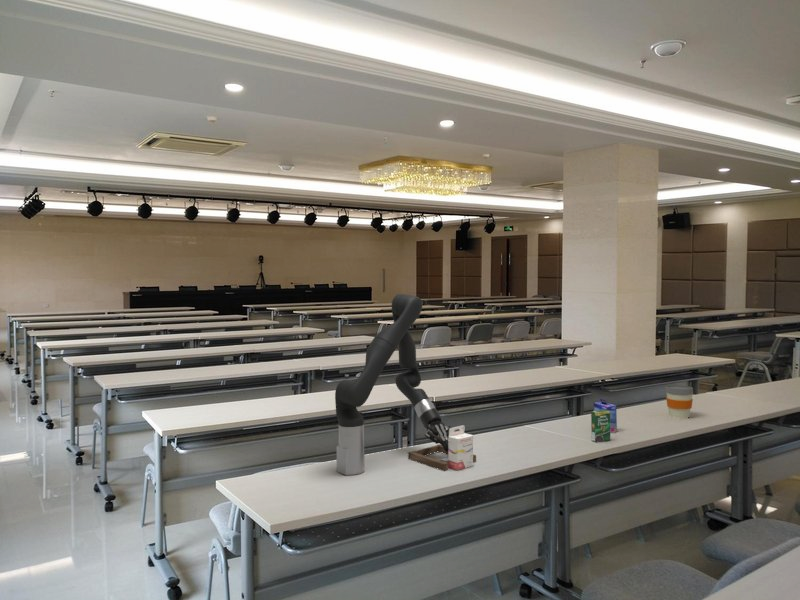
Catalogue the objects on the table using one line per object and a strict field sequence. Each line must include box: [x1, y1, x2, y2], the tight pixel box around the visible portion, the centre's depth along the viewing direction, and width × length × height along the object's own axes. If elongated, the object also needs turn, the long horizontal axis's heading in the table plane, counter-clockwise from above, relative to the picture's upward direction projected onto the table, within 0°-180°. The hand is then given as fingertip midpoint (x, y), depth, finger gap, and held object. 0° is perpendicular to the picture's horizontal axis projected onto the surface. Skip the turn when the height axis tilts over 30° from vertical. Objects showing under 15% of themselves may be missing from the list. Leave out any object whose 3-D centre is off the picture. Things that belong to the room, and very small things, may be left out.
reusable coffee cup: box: [665, 384, 694, 419], centre depth 300 cm, size 13×13×15 cm
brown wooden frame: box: [407, 444, 477, 472], centre depth 232 cm, size 17×20×2 cm
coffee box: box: [590, 410, 611, 443], centre depth 257 cm, size 8×3×13 cm, turn 108°
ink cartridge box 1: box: [447, 424, 474, 471], centre depth 223 cm, size 9×5×15 cm, turn 129°
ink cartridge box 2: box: [593, 398, 618, 434], centre depth 275 cm, size 10×6×14 cm, turn 21°
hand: (449, 450), depth 228 cm, fingers closed
